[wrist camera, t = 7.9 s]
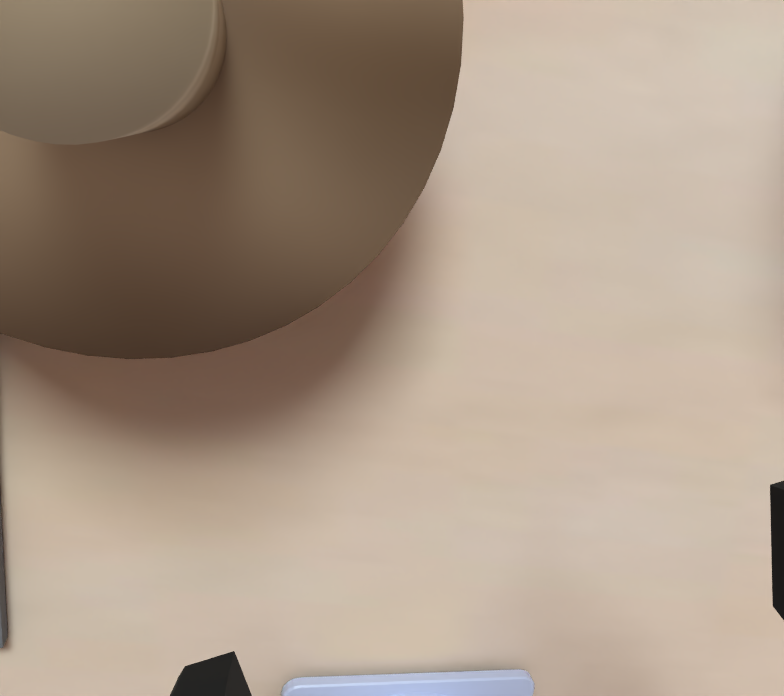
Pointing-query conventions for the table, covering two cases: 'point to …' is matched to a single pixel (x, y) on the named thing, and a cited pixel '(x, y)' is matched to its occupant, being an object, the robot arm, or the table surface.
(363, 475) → the table surface
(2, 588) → the mat
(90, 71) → the lid
